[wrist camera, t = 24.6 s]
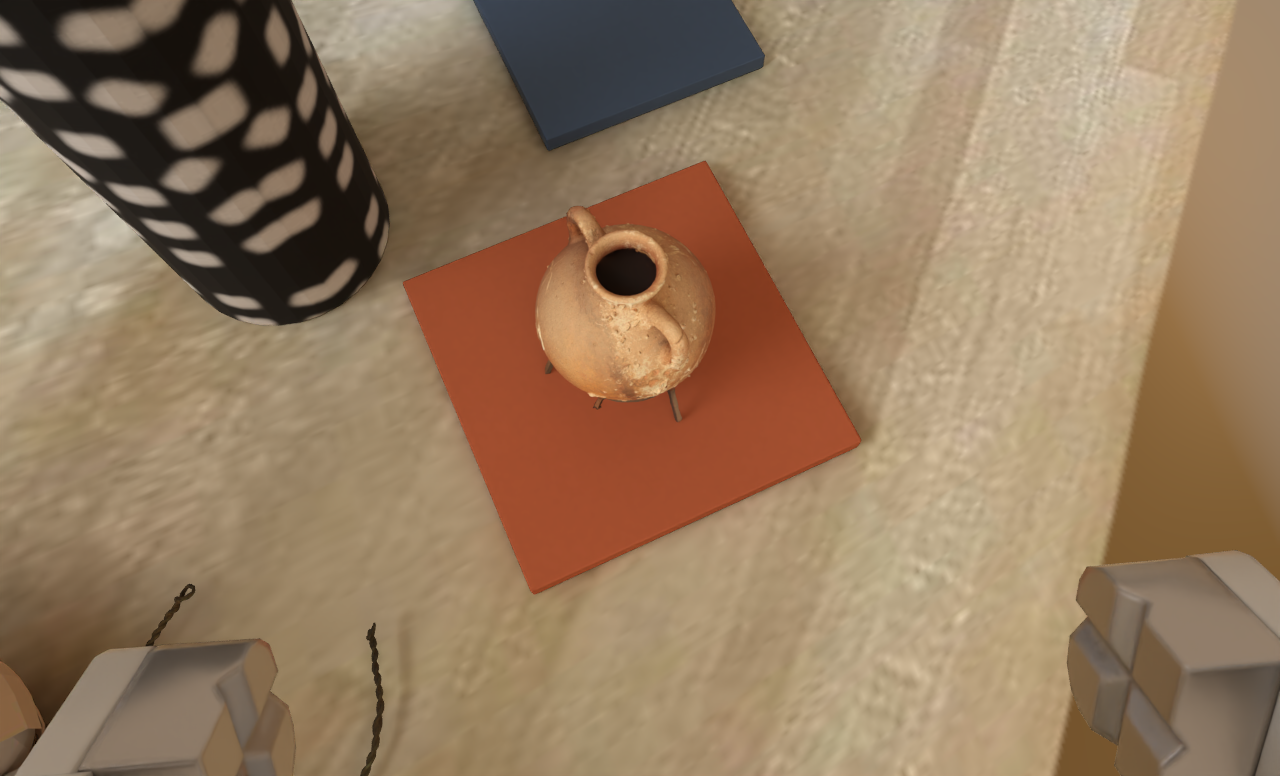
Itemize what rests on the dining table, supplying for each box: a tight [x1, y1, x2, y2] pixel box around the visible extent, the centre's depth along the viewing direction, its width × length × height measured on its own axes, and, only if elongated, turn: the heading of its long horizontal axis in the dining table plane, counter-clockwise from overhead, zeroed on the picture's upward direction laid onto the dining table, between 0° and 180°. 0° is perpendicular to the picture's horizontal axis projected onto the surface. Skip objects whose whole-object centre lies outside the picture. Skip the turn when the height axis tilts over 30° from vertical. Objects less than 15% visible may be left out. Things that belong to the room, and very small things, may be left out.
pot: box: [535, 206, 715, 422], centre depth 32 cm, size 6×8×6 cm
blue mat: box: [473, 0, 765, 151], centre depth 42 cm, size 9×10×1 cm
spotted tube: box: [0, 0, 389, 325], centre depth 29 cm, size 8×8×20 cm
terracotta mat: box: [403, 161, 861, 594], centre depth 36 cm, size 13×13×1 cm
